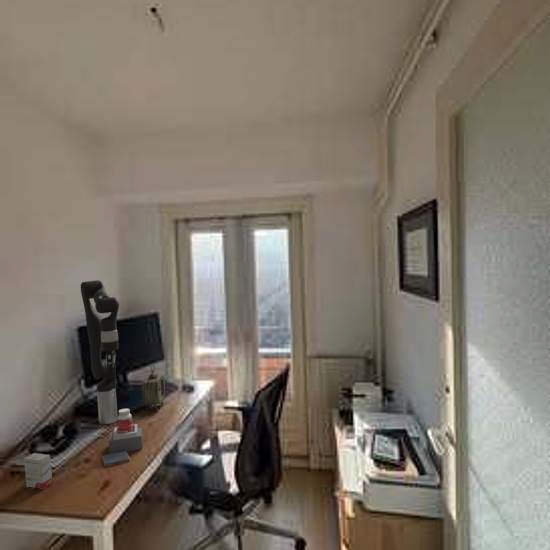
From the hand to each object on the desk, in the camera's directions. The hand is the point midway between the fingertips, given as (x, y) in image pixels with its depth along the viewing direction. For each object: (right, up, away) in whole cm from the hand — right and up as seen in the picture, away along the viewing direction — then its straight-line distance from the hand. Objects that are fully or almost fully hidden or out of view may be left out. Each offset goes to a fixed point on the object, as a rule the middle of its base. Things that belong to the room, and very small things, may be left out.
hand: (112, 373), depth 207 cm
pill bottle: (+9, -26, -7) cm, 29 cm away
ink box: (-14, -35, -38) cm, 54 cm away
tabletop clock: (+9, -29, +41) cm, 52 cm away
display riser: (+9, -32, -7) cm, 34 cm away
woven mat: (+9, -34, -20) cm, 40 cm away
